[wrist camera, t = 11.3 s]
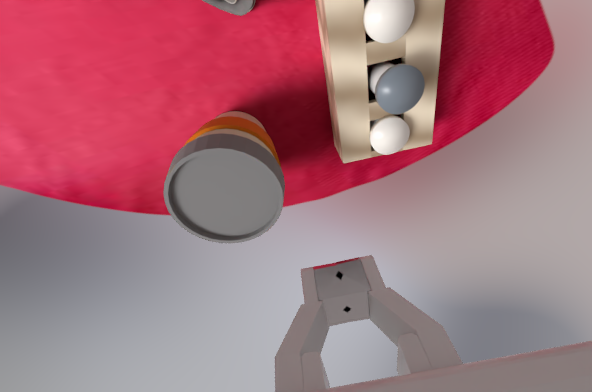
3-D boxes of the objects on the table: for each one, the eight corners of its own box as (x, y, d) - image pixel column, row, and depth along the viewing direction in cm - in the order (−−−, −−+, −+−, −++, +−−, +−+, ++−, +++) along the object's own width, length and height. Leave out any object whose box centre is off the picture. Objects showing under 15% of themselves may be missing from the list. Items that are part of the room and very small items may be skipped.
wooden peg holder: (314, -6, 32) (323, -7, 27) (419, -33, 31) (448, -38, 26) (334, 144, 43) (343, 163, 38) (412, 127, 42) (431, 143, 37)
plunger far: (355, 105, 39) (370, 123, 33) (389, 97, 39) (410, 114, 33) (358, 137, 42) (372, 158, 36) (389, 129, 42) (408, 149, 36)
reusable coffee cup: (270, 89, 37) (272, 133, 25) (287, 169, 44) (294, 234, 32) (178, 106, 37) (136, 159, 25) (210, 184, 45) (189, 253, 33)
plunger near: (347, -8, 31) (364, -9, 26) (389, -18, 31) (415, -22, 26) (350, 40, 34) (367, 48, 29) (389, 31, 34) (413, 37, 28)
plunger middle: (358, 59, 33) (377, 71, 27) (399, 50, 32) (426, 60, 27) (361, 100, 35) (378, 118, 30) (398, 91, 35) (423, 108, 30)
